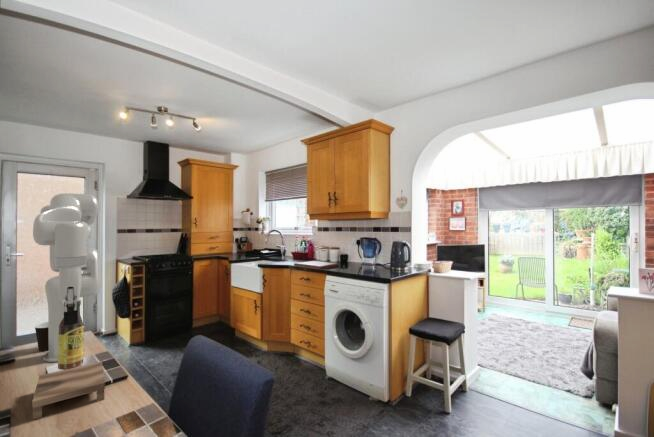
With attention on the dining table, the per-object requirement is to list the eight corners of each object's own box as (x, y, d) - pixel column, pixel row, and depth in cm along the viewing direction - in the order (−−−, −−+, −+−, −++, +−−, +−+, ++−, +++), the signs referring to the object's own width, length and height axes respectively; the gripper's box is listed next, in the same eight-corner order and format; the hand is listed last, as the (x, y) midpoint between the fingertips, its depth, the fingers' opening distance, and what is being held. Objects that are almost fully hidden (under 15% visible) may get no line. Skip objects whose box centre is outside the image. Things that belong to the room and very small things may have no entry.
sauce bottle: (69, 371, 93) (68, 304, 93) (51, 369, 94) (51, 303, 94) (89, 362, 100) (89, 298, 100) (73, 360, 101) (73, 297, 101)
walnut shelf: (39, 391, 100) (39, 375, 100) (101, 375, 109) (101, 361, 109) (32, 420, 85) (32, 401, 85) (104, 399, 95) (104, 382, 95)
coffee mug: (39, 354, 126) (39, 329, 126) (31, 349, 131) (31, 325, 131) (74, 344, 136) (74, 321, 136) (66, 340, 141) (66, 317, 141)
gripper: (56, 260, 102) (56, 317, 102) (52, 267, 88) (52, 332, 88) (86, 258, 106) (86, 312, 106) (86, 264, 93) (86, 326, 93)
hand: (71, 321), depth 97 cm, fingers closed on sauce bottle, 5 cm apart
